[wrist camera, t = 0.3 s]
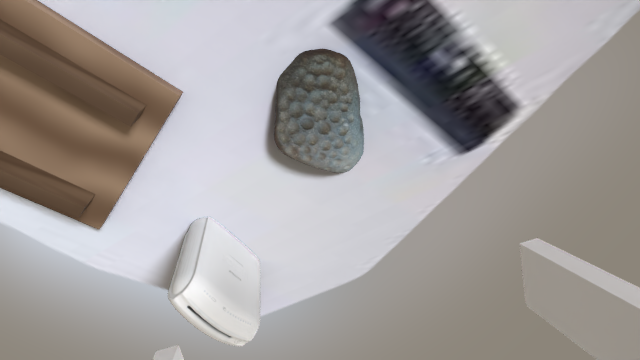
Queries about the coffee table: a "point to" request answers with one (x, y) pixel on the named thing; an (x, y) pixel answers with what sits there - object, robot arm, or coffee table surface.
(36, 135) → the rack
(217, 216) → the coffee table surface
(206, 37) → the coffee table surface
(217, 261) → the white upright flat block
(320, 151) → the fossil
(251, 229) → the coffee table surface
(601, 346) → the robot arm
